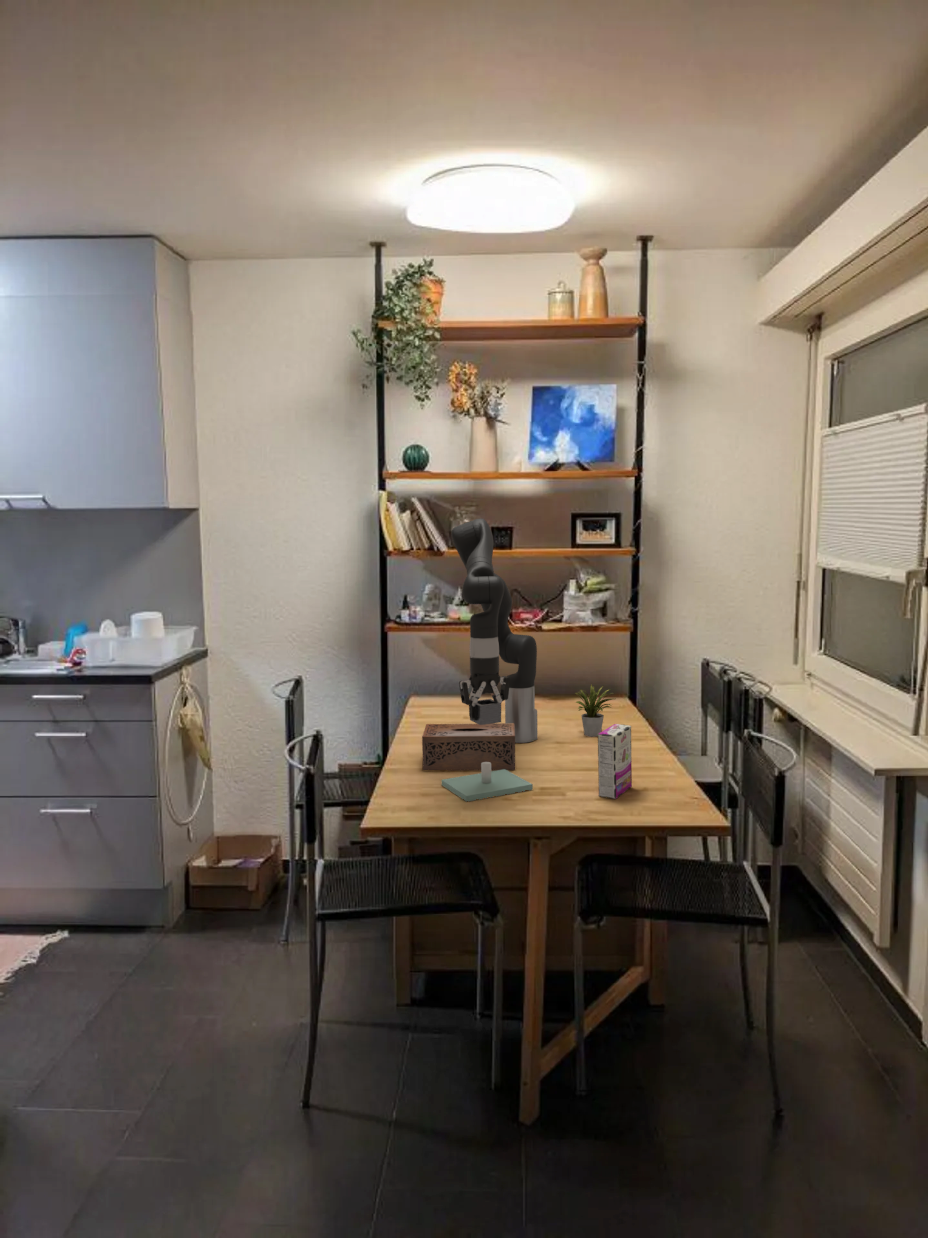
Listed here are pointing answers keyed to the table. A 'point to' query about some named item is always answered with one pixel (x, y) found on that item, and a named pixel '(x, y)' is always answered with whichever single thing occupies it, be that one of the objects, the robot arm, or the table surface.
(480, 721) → the open box
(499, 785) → the post board
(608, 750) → the candy bar box
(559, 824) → the table surface
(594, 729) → the house plant
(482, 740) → the tissue box cover
